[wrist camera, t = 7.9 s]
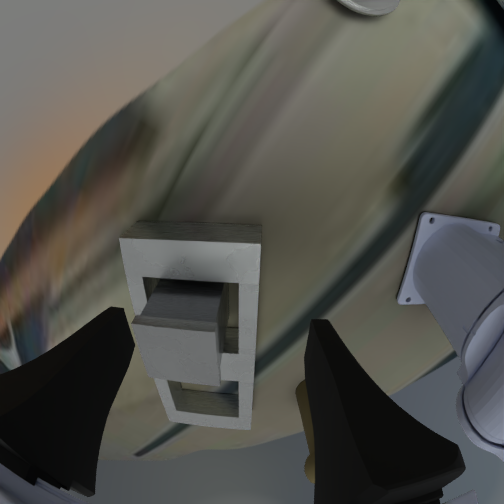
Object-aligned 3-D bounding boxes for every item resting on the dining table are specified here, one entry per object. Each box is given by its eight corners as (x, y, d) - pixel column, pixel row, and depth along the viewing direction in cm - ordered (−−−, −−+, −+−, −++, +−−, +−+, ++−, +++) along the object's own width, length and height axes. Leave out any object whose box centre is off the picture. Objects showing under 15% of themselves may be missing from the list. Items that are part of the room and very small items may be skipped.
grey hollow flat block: (261, 225, 19) (260, 244, 17) (251, 408, 29) (250, 429, 27) (136, 221, 20) (118, 238, 17) (175, 400, 30) (169, 420, 27)
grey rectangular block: (230, 264, 21) (215, 332, 15) (230, 316, 23) (219, 386, 17) (167, 261, 21) (131, 323, 15) (174, 311, 23) (148, 376, 17)
